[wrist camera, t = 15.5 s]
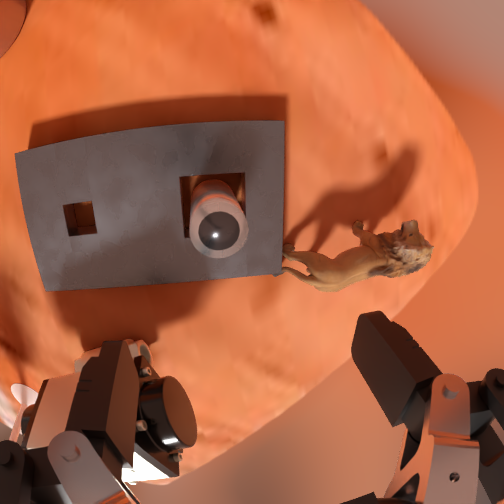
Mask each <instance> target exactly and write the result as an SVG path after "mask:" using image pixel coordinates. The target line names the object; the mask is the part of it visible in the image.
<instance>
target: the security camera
mask: <svg viewBox="0 0 504 504" xmlns="http://www.w3.org/2000/svg"><path fill="white" fill-rule="evenodd" d="M123 341H126V342H127V344H128V347H129V350H130V353H131V356H132V358H133V361H134V364H135V367H136V370H137V373H138V377H139V397H138V407H137V418H136V430H135V444H134V462H133V469H122V480H123V482H128V483H129V484H132V485H135V484H137V483H138V481H141V480H152V479H162V478H170V477H177V476H179V461H182V455H181V454H180V453H183V449H184V448H189V447H192V446H193V445H194V444H195V442H196V439H197V425H196V419H195V415H194V411H193V408H192V405H191V403H190V400H189V398H188V396H187V394H186V392H185V390H184V389H183V387H182V385H181V384H180V383H179V382H178V381H177V380H176V379H175V378H174V377H172V376H165V377H161V378H160V377H159V376H158V374H157V373H156V372H155V370H154V369H153V358H152V354H151V351H150V349H149V347H148V346H147V344H146V343H145V342H144V341H143V340H138V341H135V342H134V341H133V340H132V339H126V340H123ZM100 350H101V347H100V348H96V349H93V350H89V351H86V352H84V353H83V354H82V356H81V358H79V359H77V360H75V373H72V374H68V375H64V376H60V377H56V378H51V379H47V380H44V381H43V383H42V386H41V388H40V391H39V392H38V396H37V399H36V402H35V404H32V405H29V406H28V407H27V408H26V409H25V410H24V412H23V414H22V418H21V430H22V435H23V442H22V445H21V447H22V448H23V449H24V450H27V449H34V448H40V447H46V446H49V443H50V442H51V440H52V439H53V438H54V437H55V436H56V435H58V434H59V433H62V432H64V431H65V428H66V424H67V420H68V416H69V412H70V408H71V405H72V401H73V397H74V394H75V392H76V387H77V383H78V382H79V377H80V373H81V370H82V367H83V366H84V365H85V364H86V362H87V361H88V360H89V359H90V357H99V353H100Z"/></svg>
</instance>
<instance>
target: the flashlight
mask: <svg viewBox="0 0 504 504" xmlns="http://www.w3.org/2000/svg"><path fill="white" fill-rule="evenodd" d="M189 231H190V238H191V241H192V243H193V245H194V247H195V248H196V249H197V250H198V251H199V252H200V253H202V254H203V255H205V256H208V257H212V258H225V257H228V256H231V255H233V254H235V253H236V252H238V251H239V250H240V249H241V248H242V247H243V245H244V244H245V242H246V240H247V237H248V231H249V228H248V222H247V219H246V217H245V215H244V213H243V211H242V209H241V207H240V205H239V203H238V201H237V199H236V197H235V195H234V193H233V191H232V189H231V188H230V186H229V185H228V184H226V183H225V182H223V181H221V180H216V179H210V180H206V181H203V182H202V183H200V184H199V185H198V186H197V187H196V188H195V189H194V191H193V193H192V196H191V209H190V229H189Z"/></svg>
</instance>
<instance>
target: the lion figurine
mask: <svg viewBox="0 0 504 504" xmlns="http://www.w3.org/2000/svg"><path fill="white" fill-rule="evenodd" d="M363 226H364V225H363V224H362V222H360V221H356V222H355V223H354V225H353V227H352V230H353V234H354V235H356V236H357V237H359V238H360V239H361V244H360V246H359V247H355V248H351V249H349V250H346V251H344V252H342V253H340V254H339V255H338V256H337V257H336V258H335V259H330V258H328V257H326V256H325V255H323V254H320V253H316V252H312V251H298V252H297V251H294V250H295V247H294V246H293V245H292V244H285V245H284V246H283V248H282V253H283V256H284V257H285V258H287V259H288V260H290V261H293V260H295V261H299V262H302V263H304V264H305V265H306V266H307V267H308V268H307V272H308V273H310V275H309V276H306V275H304V274H302V273H301V272H299V271H297V270H295V269H292V268H289V267H282V273H278V274H272V275H273V276H274V277H276V276H278V275H280V274H283V273H284V272H289V273H291V274H292V275H294V276H295V277H297V278H298V279H300V280H301V281H303V282H305V283H307V284H309V285H312V286H314V287H315V288H316V289H317V290H319V291H322V292H336V291H340V290H341V289H343V288H345V287H347V286H349V285H351V284H353V283H356V282H359V281H362V280H366V279H368V278H371V277H375V276H379V275H383V276H387V277H390V278H394V277H401V276H403V275H408V274H410V273H413V272H414V271H418V270H419V269H421V268H423V267H424V266H425V265H426V264H427V262H429V261H430V258H431V254H432V249H433V248H434V246H431V245H430V244H429V242H428V241H427V240H425V239H424V236H423V235H422V234H420V233H419V229H418V222H417V221H416V220H411V221H406V222H403V223H402V225H401V230H395V231H394V232H393V233H388V232H384V233H381V234H378V235H375V234H373V233H371V232H369V231H366V230H363Z"/></svg>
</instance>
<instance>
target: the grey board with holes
mask: <svg viewBox="0 0 504 504" xmlns="http://www.w3.org/2000/svg"><path fill="white" fill-rule="evenodd" d="M15 160H16V168H17V175H18V182H19V188H20V194H21V199H22V204H23V209H24V214H25V219H26V223H27V228H28V232H29V236H30V240H31V244H32V248H33V251H34V255H35V258H36V262H37V265H38V269H39V272H40V275H41V278H42V281H43V284H44V287H45V290H46V291H63V290H80V289H96V288H112V287H126V286H140V285H153V284H166V283H179V282H191V281H203V280H214V279H225V278H236V277H247V276H258V275H268V274H278V273H282V243H283V205H284V121H277V120H250V121H217V122H199V123H185V124H174V125H163V126H154V127H145V128H137V129H130V130H123V131H116V132H110V133H104V134H98V135H92V136H87V137H81V138H76V139H72V140H67V141H62V142H58V143H53V144H49V145H45V146H41V147H37V148H33V149H29V150H25V151H22V152H18V153H15ZM223 173H241V193H242V211H243V213H244V215H245V217H246V219H247V222H248V228H249V231H248V237H247V240H246V242H245V244H244V245H243V247H242V248H241V249H240V250H239V251H238V252H236V253H235V254H233V255H231V256H228V257H225V258H212V257H208V256H205V255H203V254H202V253H200V252H199V251H198V250H197V249H196V248H195V247H194V245H193V243H192V241H191V238H190V231H189V229H190V228H185V221H184V209H183V197H182V184H181V176H194V175H207V174H223ZM86 201H92V205H93V211H94V217H95V222H96V225H92V226H84V227H78V226H77V221H76V216H75V210H74V205H73V203H79V202H86Z"/></svg>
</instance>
